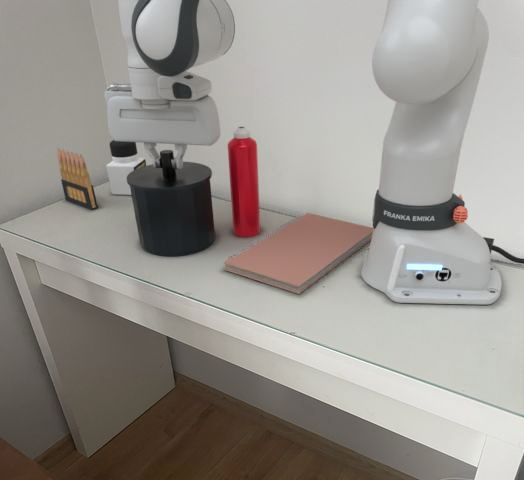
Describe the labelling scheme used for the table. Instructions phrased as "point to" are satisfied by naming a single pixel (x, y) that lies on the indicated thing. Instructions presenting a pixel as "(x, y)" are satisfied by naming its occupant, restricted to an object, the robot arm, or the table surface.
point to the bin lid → (169, 175)
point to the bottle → (244, 183)
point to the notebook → (299, 251)
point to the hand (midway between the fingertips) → (168, 167)
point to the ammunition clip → (76, 180)
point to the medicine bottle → (123, 165)
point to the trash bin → (174, 220)
